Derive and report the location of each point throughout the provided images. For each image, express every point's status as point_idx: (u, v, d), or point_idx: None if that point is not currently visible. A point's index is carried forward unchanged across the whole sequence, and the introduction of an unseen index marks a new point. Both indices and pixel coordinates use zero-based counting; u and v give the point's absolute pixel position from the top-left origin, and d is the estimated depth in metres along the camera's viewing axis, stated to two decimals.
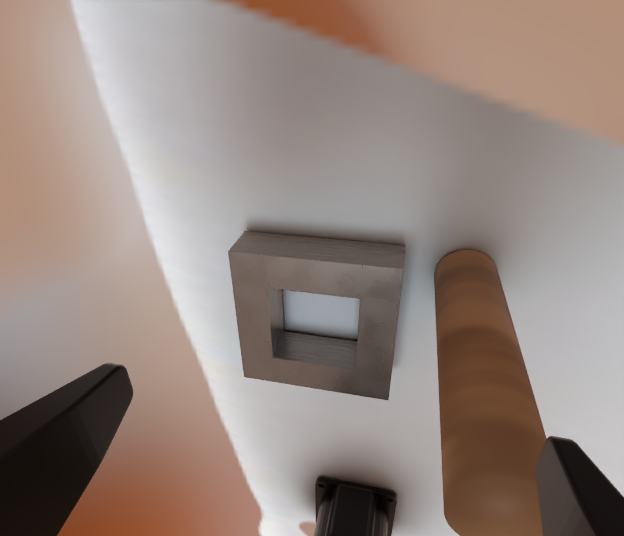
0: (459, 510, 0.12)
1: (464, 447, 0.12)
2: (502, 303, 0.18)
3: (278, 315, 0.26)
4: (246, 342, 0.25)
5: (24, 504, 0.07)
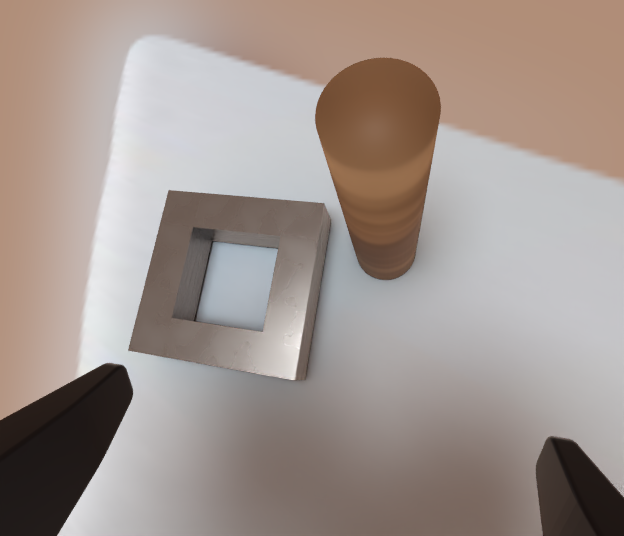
0: (330, 110, 0.11)
1: None
2: None
3: (193, 286, 0.24)
4: (148, 296, 0.23)
5: (24, 504, 0.07)
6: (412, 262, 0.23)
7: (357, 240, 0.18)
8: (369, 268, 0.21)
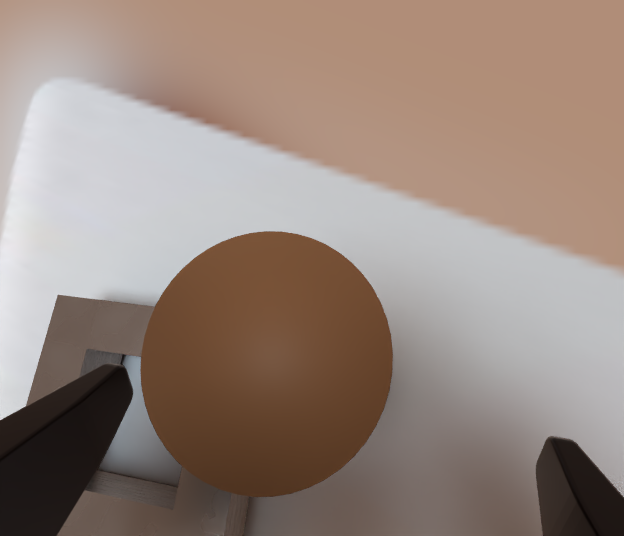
0: (171, 345, 0.05)
1: None
2: None
3: None
4: None
5: (24, 504, 0.07)
6: None
7: None
8: None
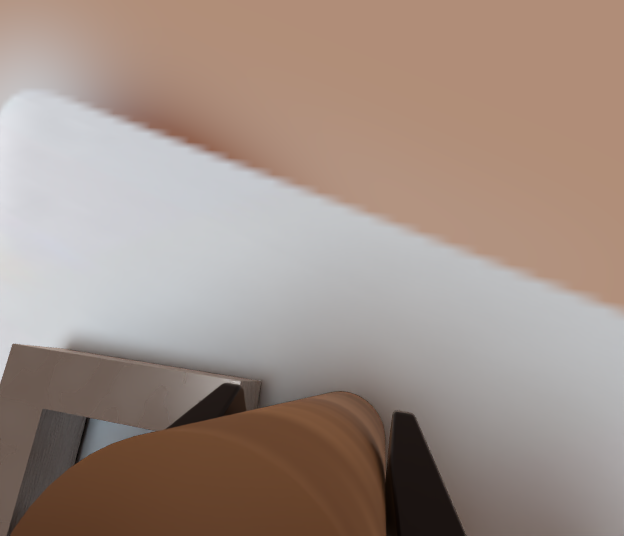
0: None
1: None
2: (367, 414, 0.12)
3: None
4: None
5: None
6: None
7: None
8: None
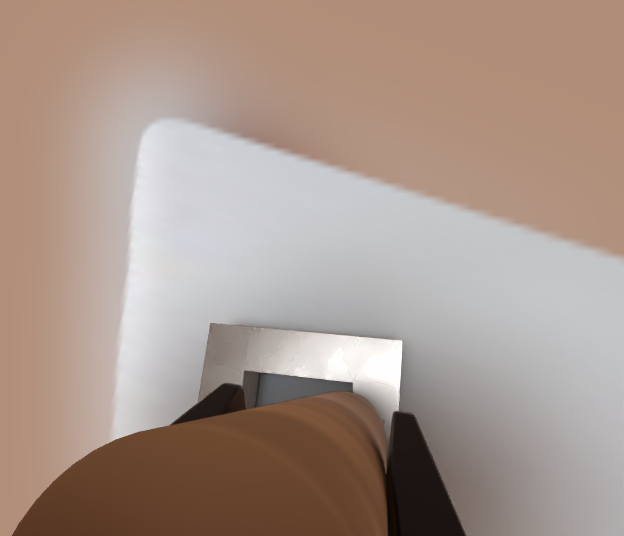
0: None
1: None
2: (368, 414, 0.12)
3: None
4: None
5: None
6: None
7: None
8: None
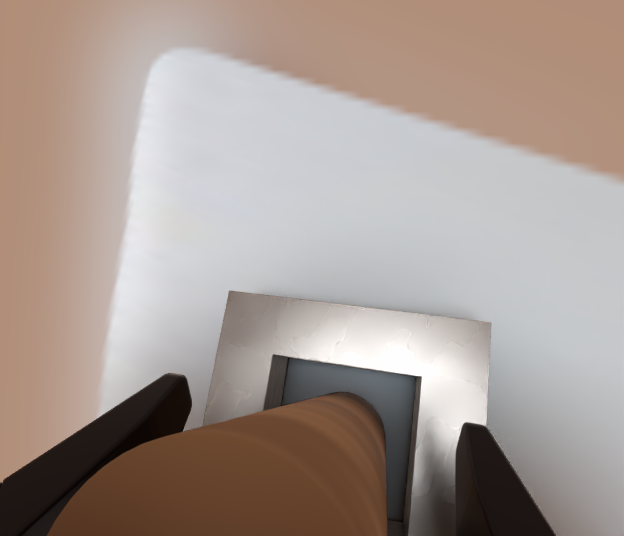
0: None
1: None
2: (368, 415, 0.12)
3: None
4: None
5: None
6: None
7: None
8: None
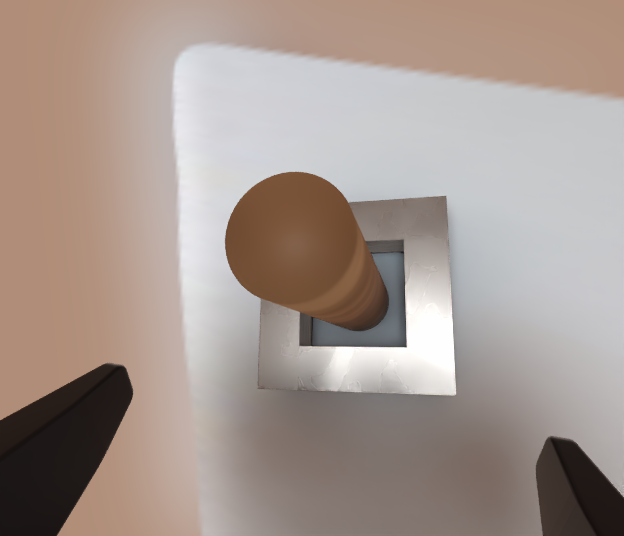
0: (240, 240, 0.10)
1: None
2: None
3: None
4: (268, 327, 0.21)
5: (24, 504, 0.07)
6: (386, 310, 0.22)
7: None
8: None
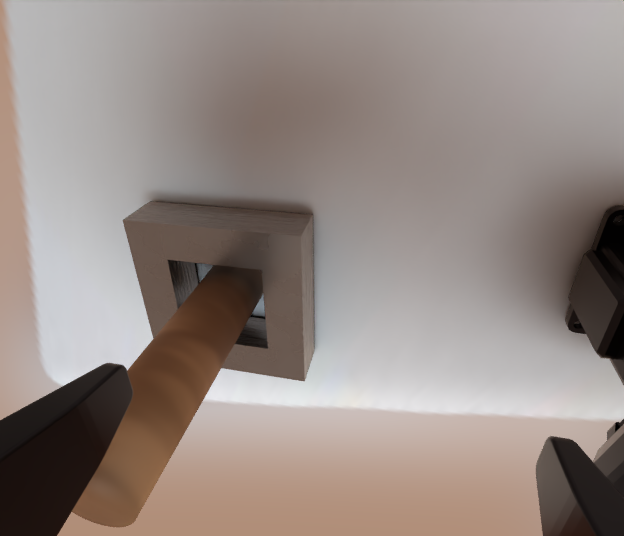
0: (101, 518, 0.14)
1: None
2: (181, 305, 0.21)
3: None
4: (254, 367, 0.24)
5: (24, 504, 0.07)
6: None
7: (221, 365, 0.20)
8: (253, 309, 0.23)
